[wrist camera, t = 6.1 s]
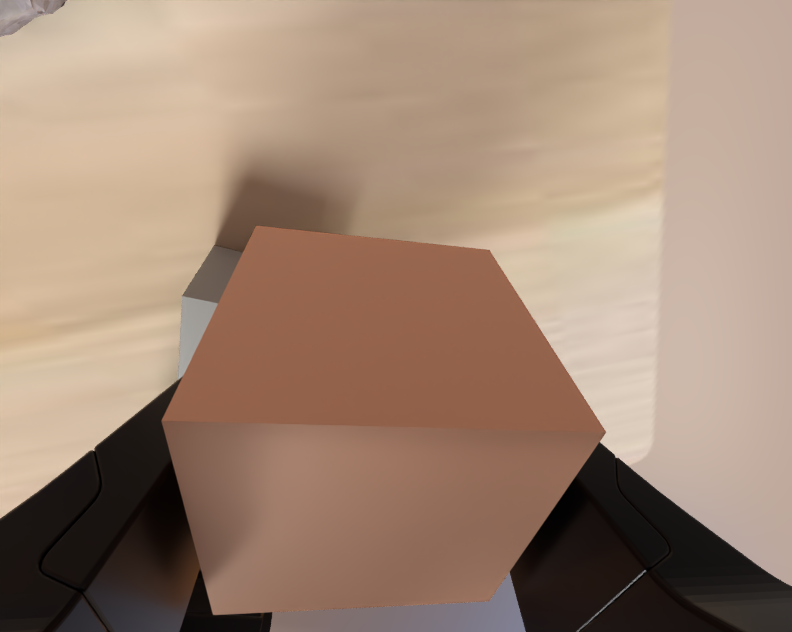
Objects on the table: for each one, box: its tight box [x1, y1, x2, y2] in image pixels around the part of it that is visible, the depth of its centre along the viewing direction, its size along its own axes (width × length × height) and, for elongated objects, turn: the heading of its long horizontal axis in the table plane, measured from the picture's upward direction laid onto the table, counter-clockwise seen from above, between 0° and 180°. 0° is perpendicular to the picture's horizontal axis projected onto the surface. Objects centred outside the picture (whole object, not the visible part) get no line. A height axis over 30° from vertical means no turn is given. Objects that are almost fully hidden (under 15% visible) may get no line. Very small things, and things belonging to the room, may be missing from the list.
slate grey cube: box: [178, 245, 243, 380], centre depth 21 cm, size 5×5×5 cm
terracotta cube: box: [162, 226, 606, 615], centre depth 8 cm, size 5×5×5 cm
